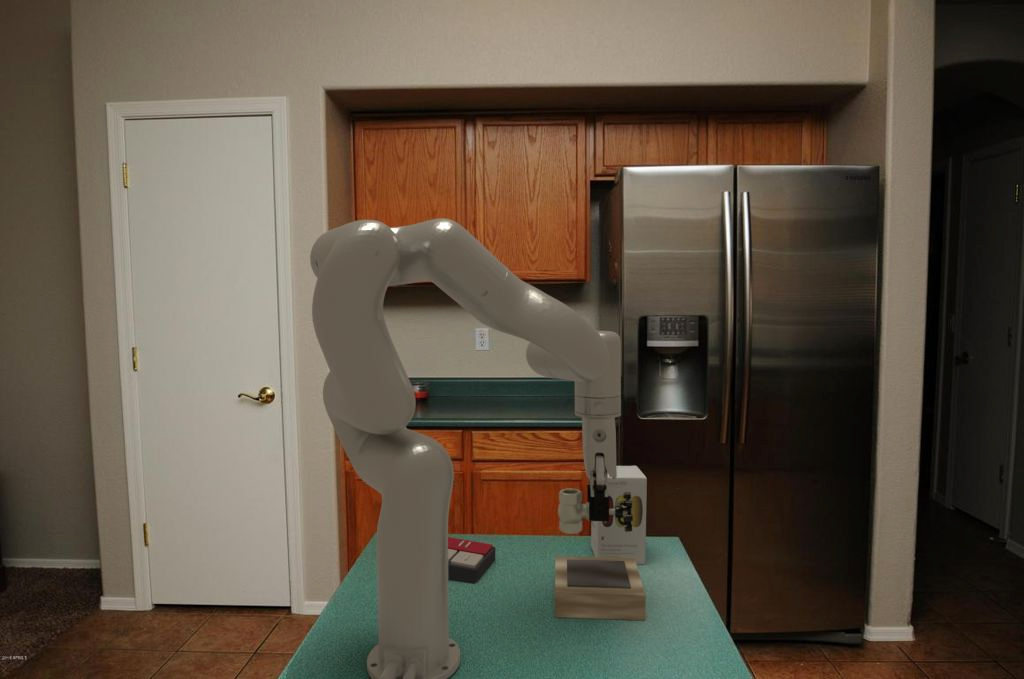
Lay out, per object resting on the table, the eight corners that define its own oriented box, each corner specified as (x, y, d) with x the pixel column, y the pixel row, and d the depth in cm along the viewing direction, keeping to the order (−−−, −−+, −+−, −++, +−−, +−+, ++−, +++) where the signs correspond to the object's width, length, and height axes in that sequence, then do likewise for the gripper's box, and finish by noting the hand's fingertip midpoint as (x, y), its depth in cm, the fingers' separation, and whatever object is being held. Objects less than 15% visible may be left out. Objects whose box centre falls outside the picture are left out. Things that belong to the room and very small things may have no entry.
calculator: (476, 565, 108) (399, 551, 112) (475, 589, 108) (398, 574, 112) (496, 542, 118) (425, 530, 122) (495, 564, 118) (424, 551, 123)
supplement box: (596, 565, 115) (596, 477, 114) (589, 546, 125) (589, 464, 124) (647, 565, 115) (648, 476, 115) (636, 546, 125) (637, 464, 124)
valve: (557, 537, 99) (632, 539, 98) (557, 497, 99) (632, 498, 98) (558, 522, 106) (628, 524, 105) (558, 485, 106) (628, 486, 104)
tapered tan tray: (645, 620, 95) (645, 593, 95) (554, 617, 96) (554, 590, 96) (634, 580, 109) (634, 556, 109) (555, 577, 110) (555, 554, 110)
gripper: (626, 415, 92) (626, 533, 93) (616, 398, 109) (616, 498, 110) (576, 415, 93) (576, 532, 94) (573, 398, 110) (574, 497, 111)
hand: (597, 513), depth 102 cm, fingers closed on valve, 5 cm apart
